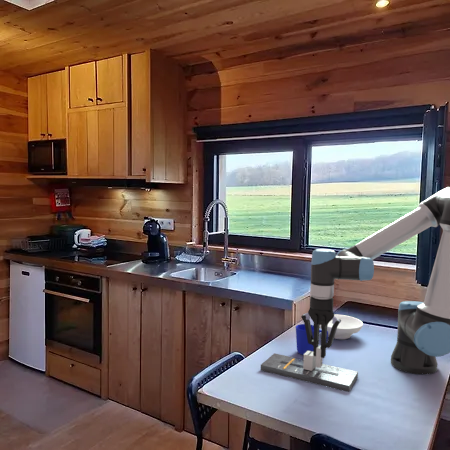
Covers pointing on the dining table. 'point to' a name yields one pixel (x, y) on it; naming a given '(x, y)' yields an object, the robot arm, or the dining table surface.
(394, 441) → the dining table surface
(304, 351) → the mug
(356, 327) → the bowl
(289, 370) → the console
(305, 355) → the block
